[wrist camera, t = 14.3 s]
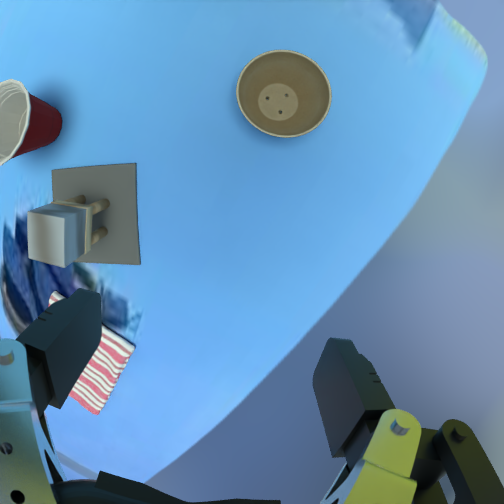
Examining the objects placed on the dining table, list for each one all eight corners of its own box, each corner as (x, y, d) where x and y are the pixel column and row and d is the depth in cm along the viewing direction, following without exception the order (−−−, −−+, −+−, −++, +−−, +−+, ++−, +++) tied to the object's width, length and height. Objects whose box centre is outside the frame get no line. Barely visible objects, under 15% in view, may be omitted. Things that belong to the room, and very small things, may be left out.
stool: (111, 198, 37) (65, 217, 26) (108, 237, 39) (65, 268, 27) (77, 193, 37) (27, 210, 25) (75, 231, 38) (28, 258, 27)
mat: (53, 170, 36) (51, 170, 35) (136, 163, 36) (135, 163, 36) (61, 260, 40) (60, 261, 40) (140, 263, 41) (139, 264, 40)
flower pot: (243, 62, 33) (243, 43, 26) (320, 75, 33) (336, 60, 27) (232, 134, 36) (229, 130, 29) (310, 146, 36) (325, 145, 30)
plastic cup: (90, 109, 33) (40, 99, 22) (54, 173, 36) (1, 184, 24) (47, 79, 31) (-3, 66, 20) (15, 139, 33) (-37, 142, 22)
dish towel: (37, 365, 48) (29, 375, 44) (56, 286, 42) (46, 295, 39) (102, 409, 51) (97, 420, 48) (140, 341, 45) (133, 354, 42)
